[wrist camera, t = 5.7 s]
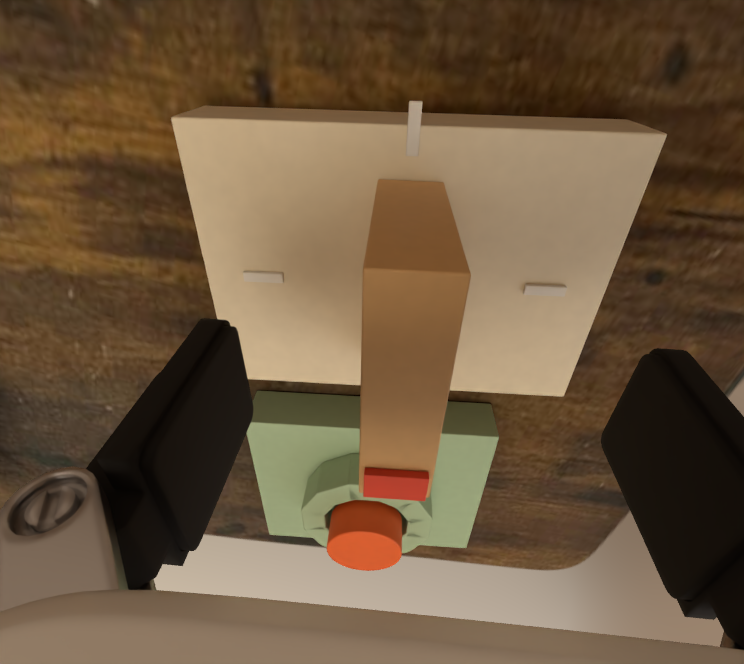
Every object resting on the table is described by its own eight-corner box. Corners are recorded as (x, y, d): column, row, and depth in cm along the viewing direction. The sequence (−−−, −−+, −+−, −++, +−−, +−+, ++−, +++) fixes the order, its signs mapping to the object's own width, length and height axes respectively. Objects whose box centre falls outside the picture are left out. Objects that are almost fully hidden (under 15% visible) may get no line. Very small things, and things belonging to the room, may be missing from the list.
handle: (377, 178, 13) (361, 274, 7) (444, 182, 12) (473, 280, 7) (371, 359, 17) (357, 501, 11) (421, 362, 16) (430, 506, 11)
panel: (635, 98, 13) (681, 109, 11) (543, 369, 20) (561, 410, 17) (199, 84, 14) (161, 93, 11) (250, 353, 20) (231, 391, 18)
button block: (491, 403, 21) (507, 470, 18) (461, 514, 27) (470, 580, 24) (257, 390, 21) (231, 452, 18) (278, 502, 27) (261, 565, 24)
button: (404, 499, 20) (404, 535, 19) (399, 539, 22) (399, 573, 21) (330, 495, 20) (324, 529, 19) (332, 534, 22) (327, 568, 21)
